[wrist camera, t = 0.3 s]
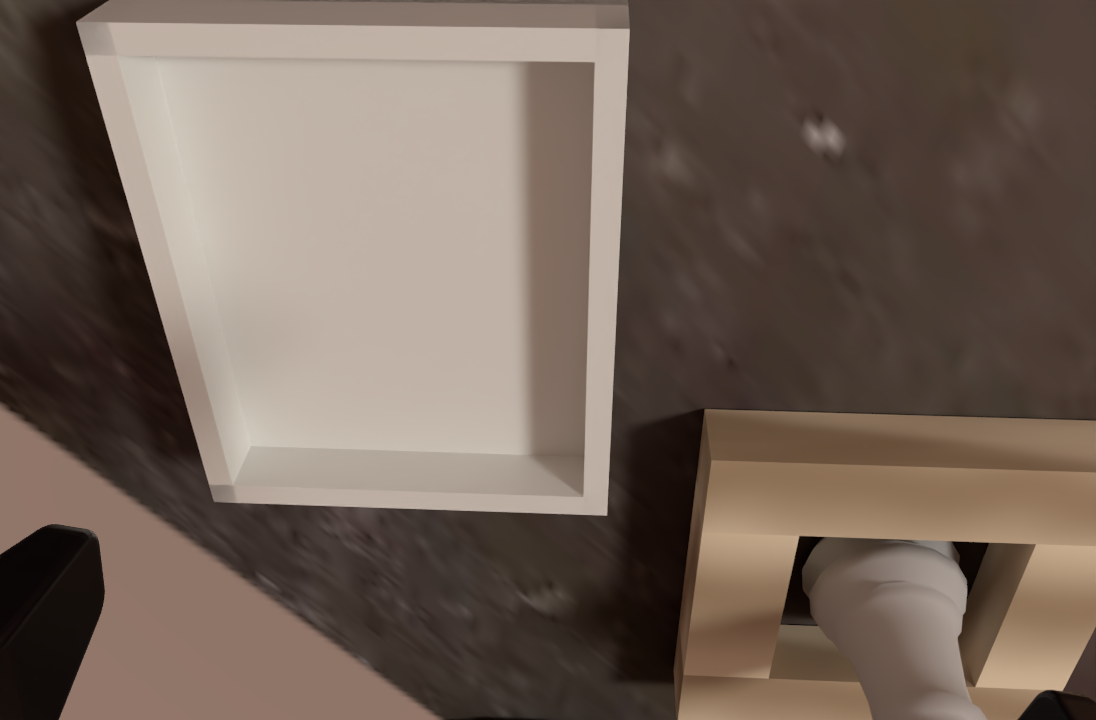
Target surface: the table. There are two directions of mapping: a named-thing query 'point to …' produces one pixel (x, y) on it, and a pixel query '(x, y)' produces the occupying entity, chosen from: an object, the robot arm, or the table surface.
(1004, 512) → the socket block
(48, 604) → the robot arm
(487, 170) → the tray
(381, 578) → the table surface
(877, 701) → the rook chess piece
